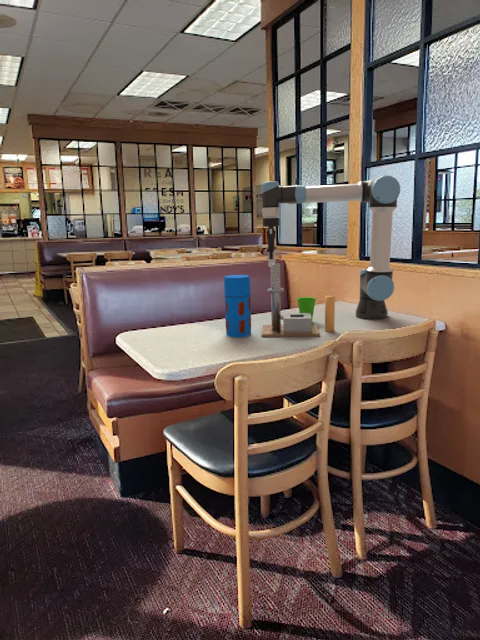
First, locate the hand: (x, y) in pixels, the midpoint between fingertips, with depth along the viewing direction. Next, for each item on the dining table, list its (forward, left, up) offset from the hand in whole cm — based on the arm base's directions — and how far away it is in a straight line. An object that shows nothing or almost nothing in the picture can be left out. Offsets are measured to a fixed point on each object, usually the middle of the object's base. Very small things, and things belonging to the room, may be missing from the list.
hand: (271, 265), depth 222 cm
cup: (-16, -3, -28) cm, 32 cm away
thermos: (+14, +21, -28) cm, 37 cm away
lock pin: (-25, +16, -27) cm, 40 cm away
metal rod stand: (-8, +17, -27) cm, 33 cm away
